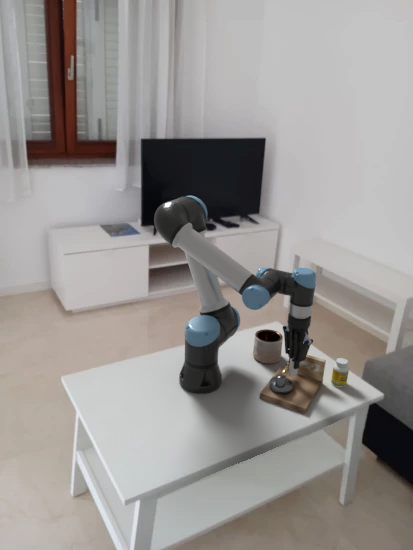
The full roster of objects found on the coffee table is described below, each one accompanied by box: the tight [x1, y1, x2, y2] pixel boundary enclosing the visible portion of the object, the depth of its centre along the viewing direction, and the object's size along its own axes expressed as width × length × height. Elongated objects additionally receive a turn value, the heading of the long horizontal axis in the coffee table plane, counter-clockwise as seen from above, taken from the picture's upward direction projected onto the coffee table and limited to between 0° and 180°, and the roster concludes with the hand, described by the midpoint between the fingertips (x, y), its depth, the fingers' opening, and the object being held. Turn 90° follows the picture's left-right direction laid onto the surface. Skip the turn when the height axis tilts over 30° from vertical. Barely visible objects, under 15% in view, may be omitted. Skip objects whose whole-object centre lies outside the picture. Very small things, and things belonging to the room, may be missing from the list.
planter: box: [252, 328, 284, 365], centre depth 184 cm, size 11×11×10 cm
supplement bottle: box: [330, 357, 350, 389], centre depth 169 cm, size 5×5×10 cm
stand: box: [259, 354, 326, 414], centre depth 164 cm, size 16×20×10 cm
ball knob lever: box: [268, 361, 293, 394], centre depth 164 cm, size 13×8×6 cm, turn 153°
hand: (292, 374), depth 165 cm, fingers closed
